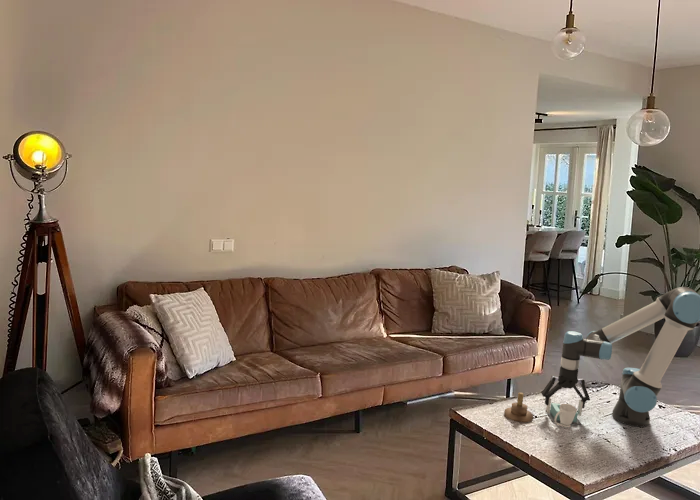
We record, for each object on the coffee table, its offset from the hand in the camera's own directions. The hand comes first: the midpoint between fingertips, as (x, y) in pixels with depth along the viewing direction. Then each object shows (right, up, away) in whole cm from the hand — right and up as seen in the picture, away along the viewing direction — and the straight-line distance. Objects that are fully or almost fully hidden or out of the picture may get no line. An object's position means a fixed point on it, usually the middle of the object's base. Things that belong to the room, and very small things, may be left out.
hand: (563, 413), depth 258 cm
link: (0, -1, 0) cm, 1 cm away
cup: (-3, -3, -8) cm, 9 cm away
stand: (-20, -1, -2) cm, 20 cm away
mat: (0, -2, 0) cm, 2 cm away
